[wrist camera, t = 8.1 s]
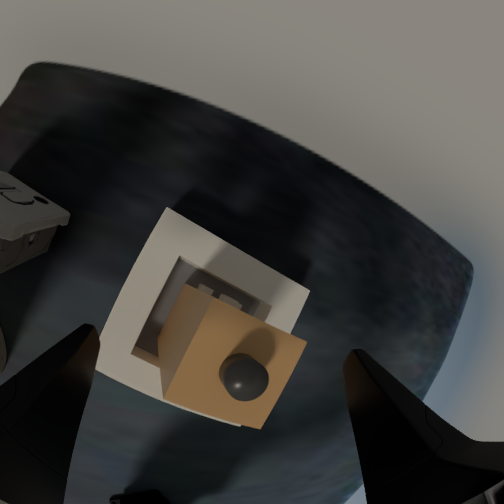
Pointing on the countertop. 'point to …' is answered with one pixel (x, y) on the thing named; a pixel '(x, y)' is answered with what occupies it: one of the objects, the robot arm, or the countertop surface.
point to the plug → (223, 358)
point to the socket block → (168, 288)
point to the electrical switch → (25, 222)
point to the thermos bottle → (2, 352)
